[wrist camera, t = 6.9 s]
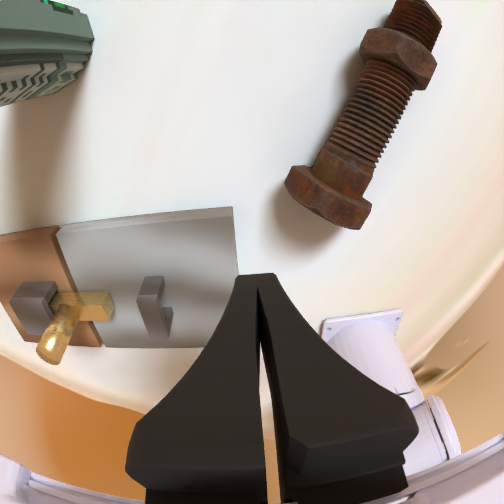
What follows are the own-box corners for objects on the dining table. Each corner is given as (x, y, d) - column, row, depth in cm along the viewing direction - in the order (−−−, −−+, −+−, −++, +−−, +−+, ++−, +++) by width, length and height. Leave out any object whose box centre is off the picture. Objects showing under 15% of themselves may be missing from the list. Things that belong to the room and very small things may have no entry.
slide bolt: (115, 308, 22) (93, 368, 17) (34, 308, 22) (6, 357, 17) (107, 289, 21) (81, 349, 16) (25, 291, 21) (-6, 340, 16)
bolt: (401, 21, 15) (317, 191, 22) (364, -21, 12) (266, 178, 18) (472, 42, 11) (376, 237, 18) (448, -10, 8) (331, 231, 15)
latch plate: (244, 332, 27) (246, 370, 23) (29, 331, 26) (15, 359, 23) (232, 206, 20) (231, 237, 17) (-18, 238, 20) (-43, 262, 16)
